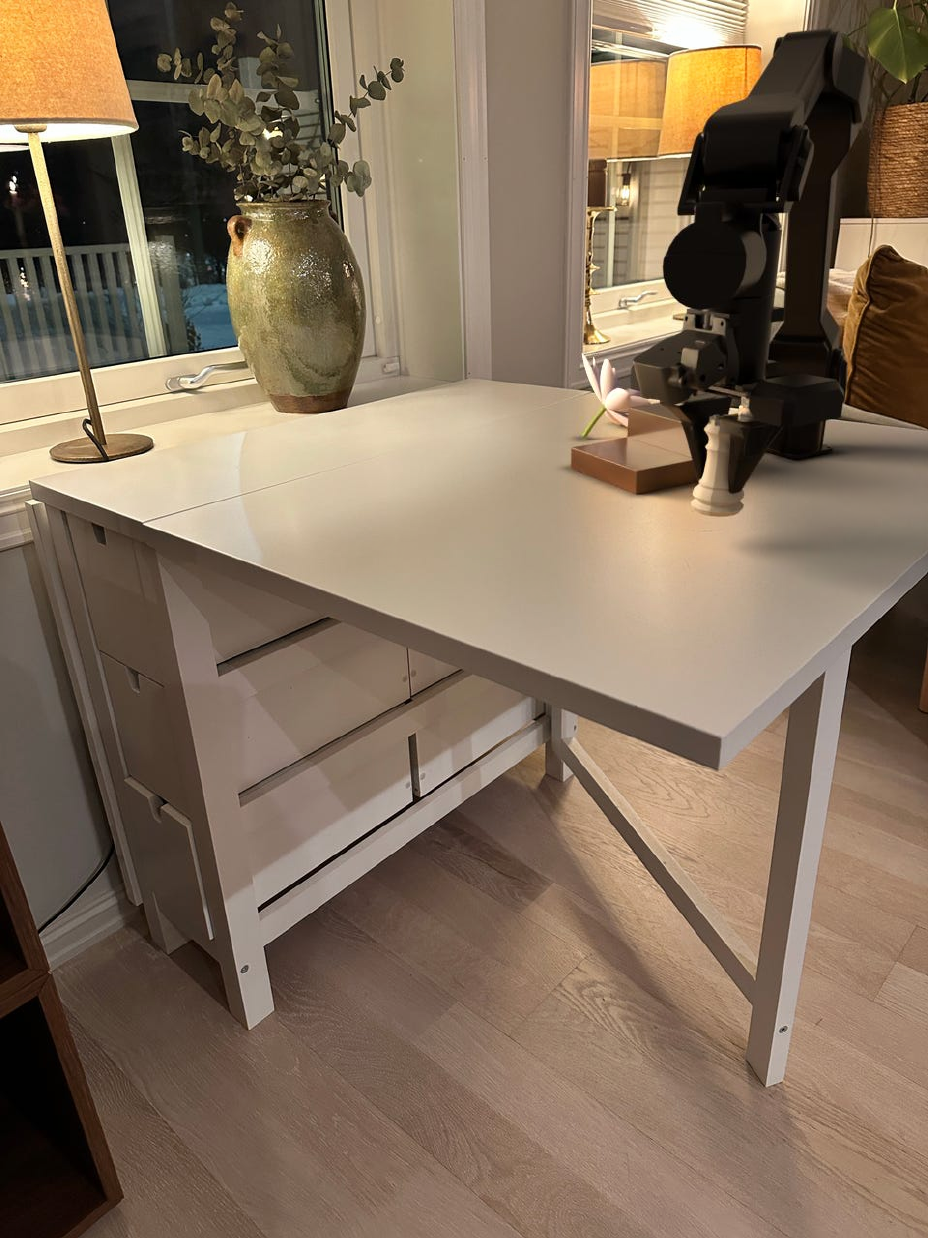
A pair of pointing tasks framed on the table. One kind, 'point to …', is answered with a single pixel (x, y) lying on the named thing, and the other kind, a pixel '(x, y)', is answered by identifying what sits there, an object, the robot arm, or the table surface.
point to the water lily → (611, 394)
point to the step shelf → (641, 453)
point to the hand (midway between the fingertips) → (718, 487)
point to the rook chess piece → (716, 475)
